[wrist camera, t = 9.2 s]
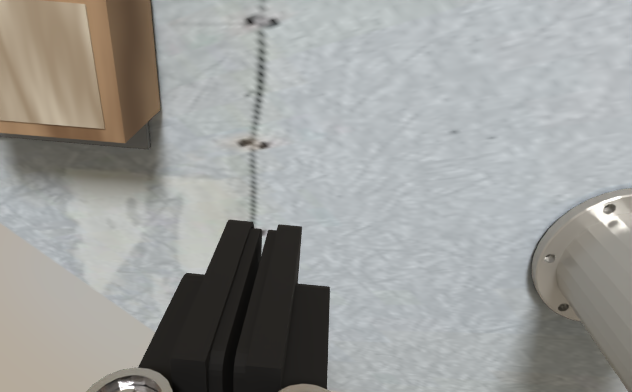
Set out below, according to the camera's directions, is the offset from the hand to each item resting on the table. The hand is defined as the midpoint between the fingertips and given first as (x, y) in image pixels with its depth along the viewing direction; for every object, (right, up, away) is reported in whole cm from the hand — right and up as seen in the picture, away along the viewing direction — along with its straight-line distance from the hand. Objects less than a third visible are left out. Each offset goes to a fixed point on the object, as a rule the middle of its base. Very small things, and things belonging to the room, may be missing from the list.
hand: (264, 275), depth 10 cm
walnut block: (-9, +10, +15) cm, 20 cm away
